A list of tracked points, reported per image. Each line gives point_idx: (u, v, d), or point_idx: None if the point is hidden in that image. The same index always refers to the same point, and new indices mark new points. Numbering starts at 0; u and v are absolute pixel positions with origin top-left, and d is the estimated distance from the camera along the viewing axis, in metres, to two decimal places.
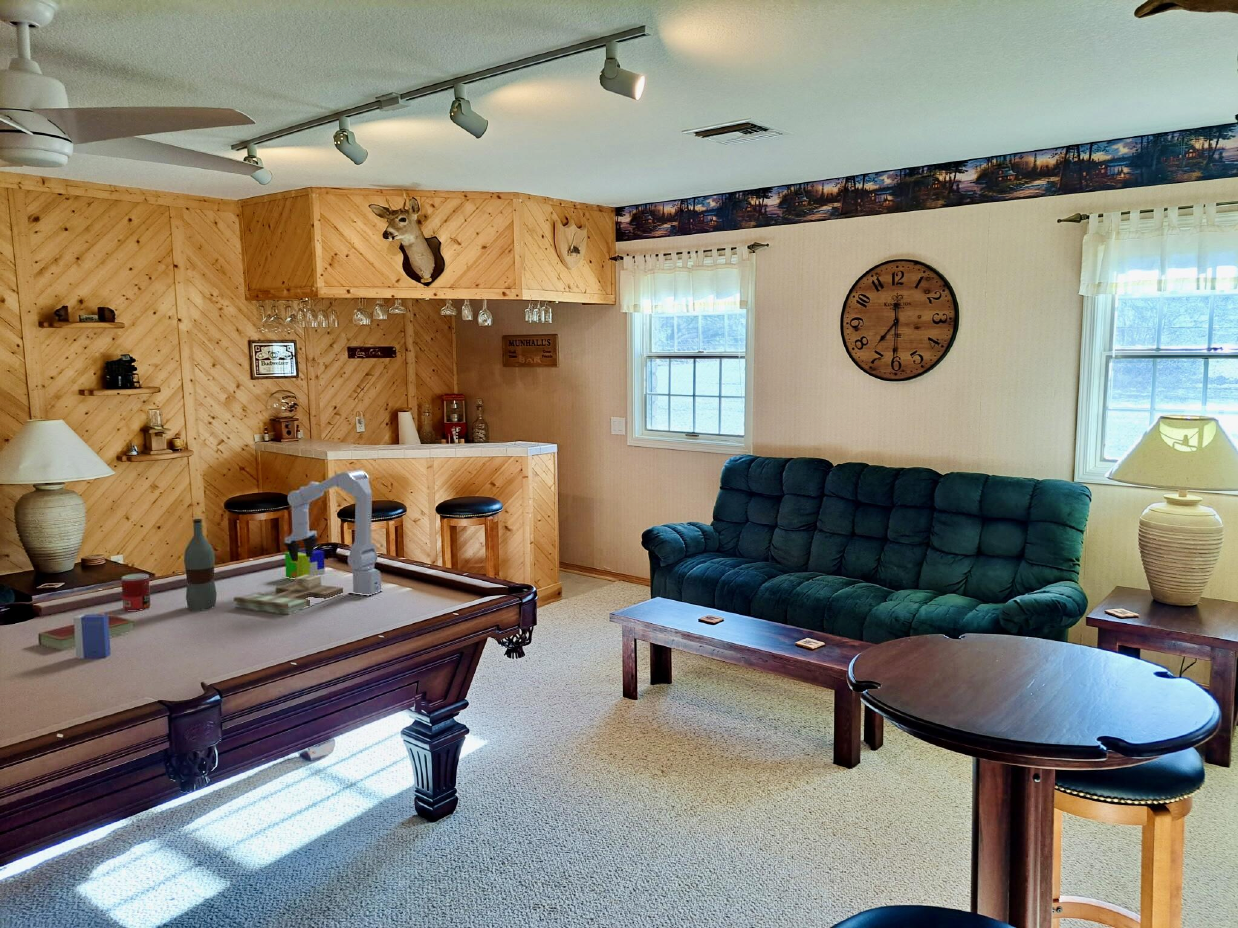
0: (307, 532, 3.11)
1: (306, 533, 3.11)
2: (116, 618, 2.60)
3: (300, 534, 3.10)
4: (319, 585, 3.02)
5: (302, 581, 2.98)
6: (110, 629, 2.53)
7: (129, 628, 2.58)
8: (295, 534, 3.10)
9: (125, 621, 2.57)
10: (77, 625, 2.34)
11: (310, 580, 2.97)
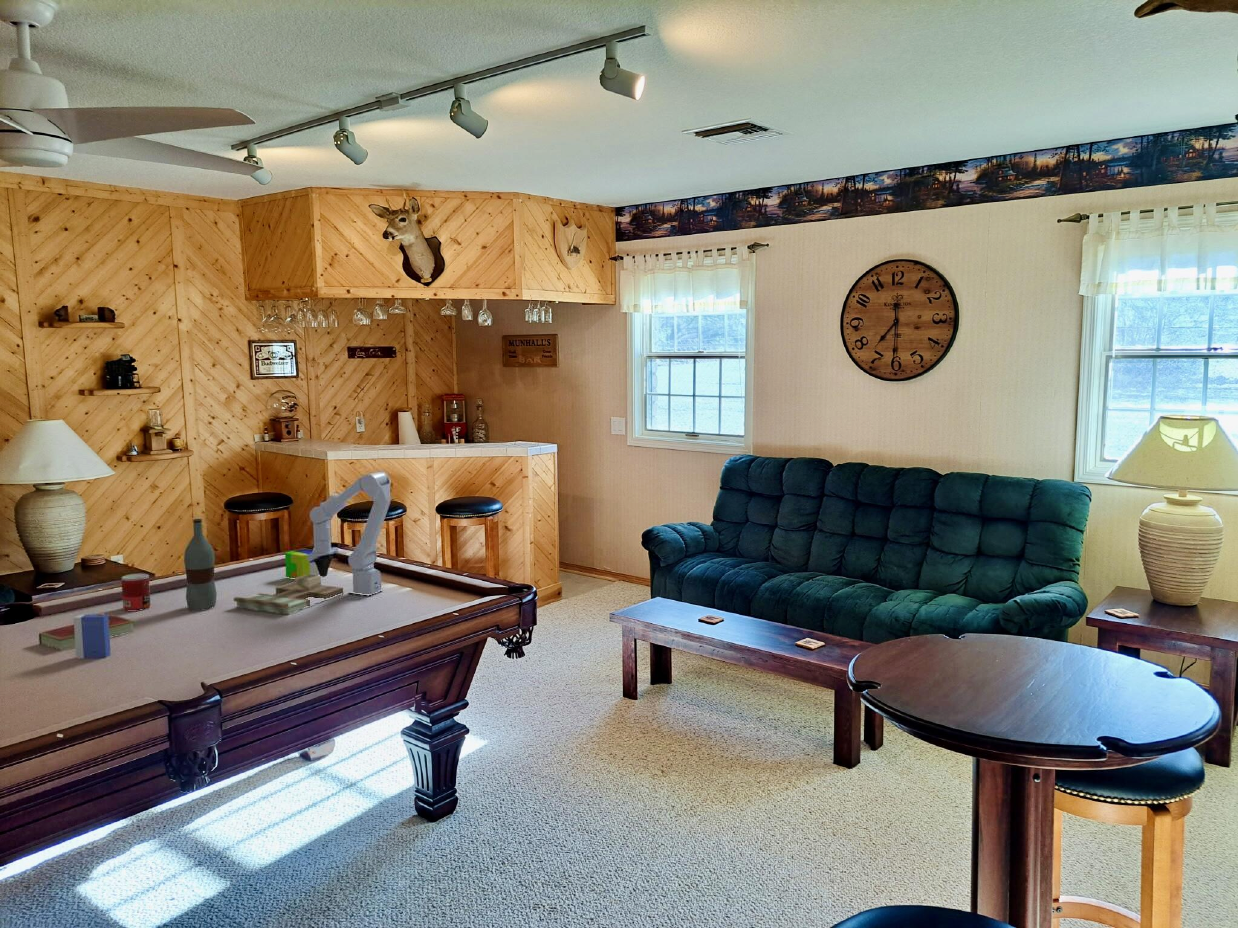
0: (329, 549, 3.06)
1: (328, 550, 3.06)
2: (117, 618, 2.60)
3: (322, 551, 3.04)
4: (319, 585, 3.02)
5: (302, 581, 2.98)
6: (110, 629, 2.52)
7: (129, 628, 2.57)
8: (317, 551, 3.04)
9: (125, 621, 2.57)
10: (77, 625, 2.34)
11: (310, 580, 2.97)
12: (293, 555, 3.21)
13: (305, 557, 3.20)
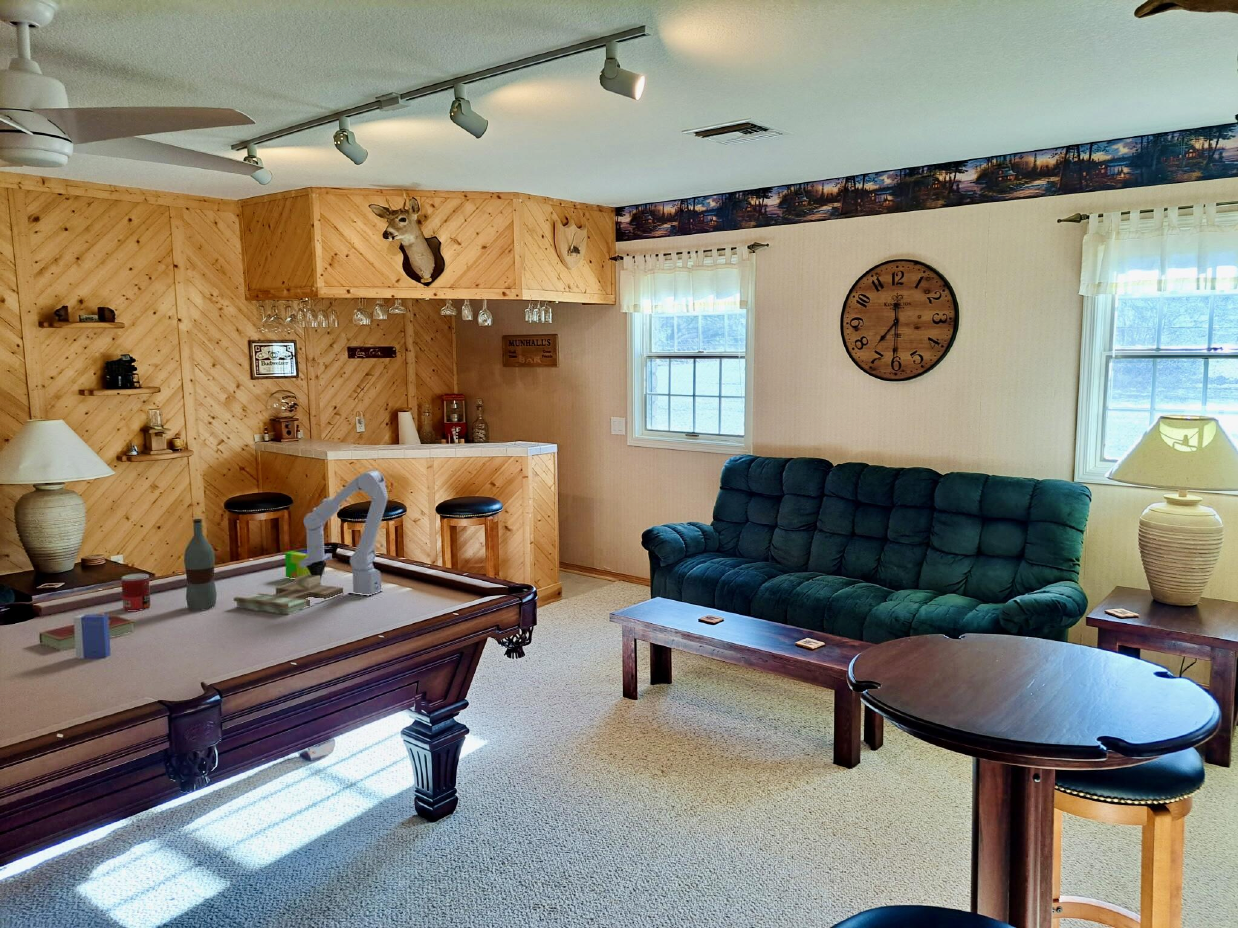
0: (322, 555, 3.03)
1: (321, 556, 3.03)
2: (118, 618, 2.60)
3: (315, 557, 3.01)
4: (319, 585, 3.02)
5: (302, 581, 2.98)
6: (110, 629, 2.52)
7: (130, 629, 2.57)
8: (310, 557, 3.01)
9: (126, 622, 2.57)
10: (77, 625, 2.34)
11: (310, 580, 2.97)
12: (293, 555, 3.21)
13: (305, 557, 3.20)
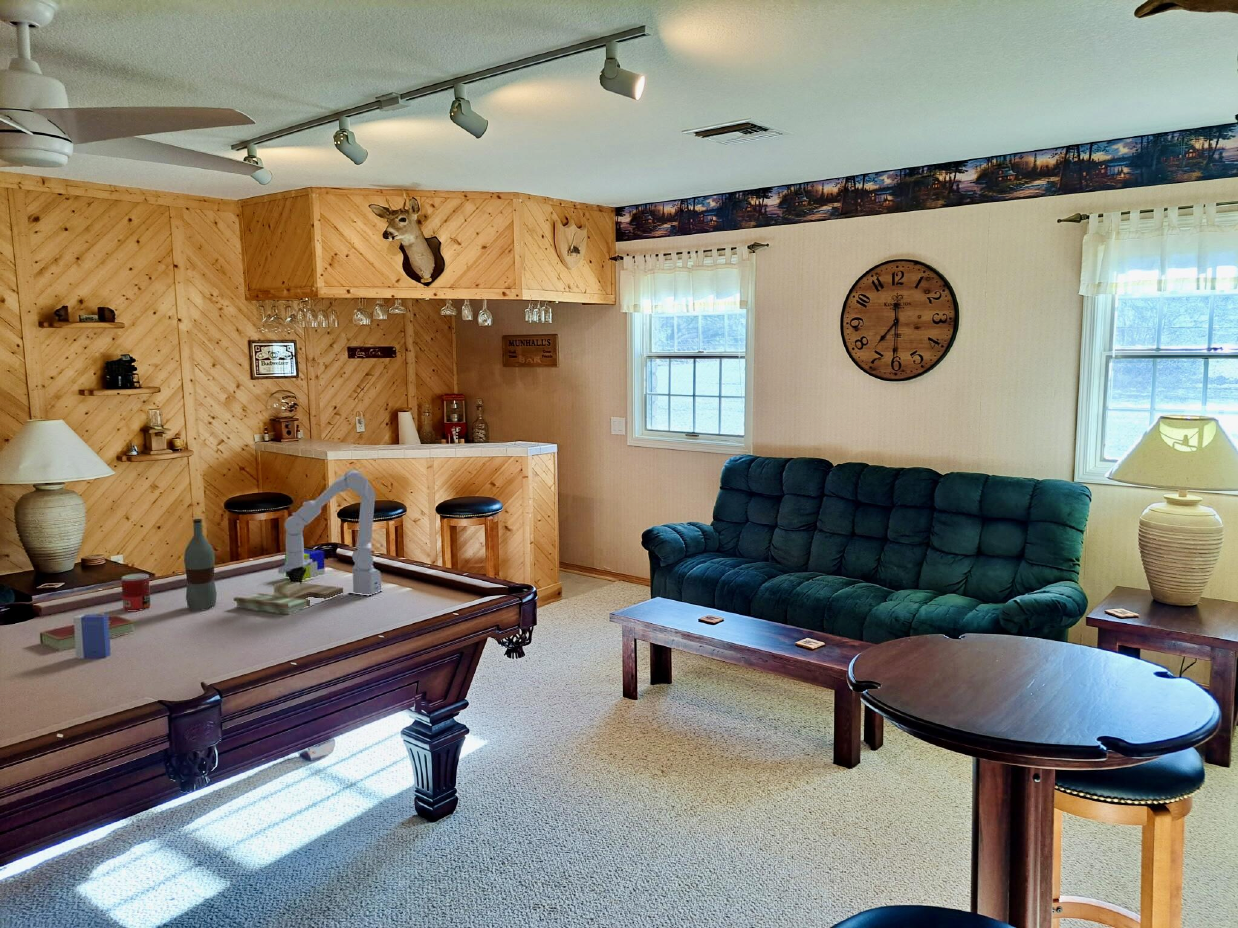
0: (302, 561, 2.94)
1: (301, 562, 2.93)
2: (119, 619, 2.60)
3: (294, 564, 2.92)
4: (299, 592, 2.92)
5: (281, 588, 2.88)
6: (110, 630, 2.52)
7: (130, 629, 2.57)
8: (289, 563, 2.92)
9: (126, 622, 2.56)
10: (77, 625, 2.34)
11: (289, 587, 2.88)
12: None
13: (305, 557, 3.20)
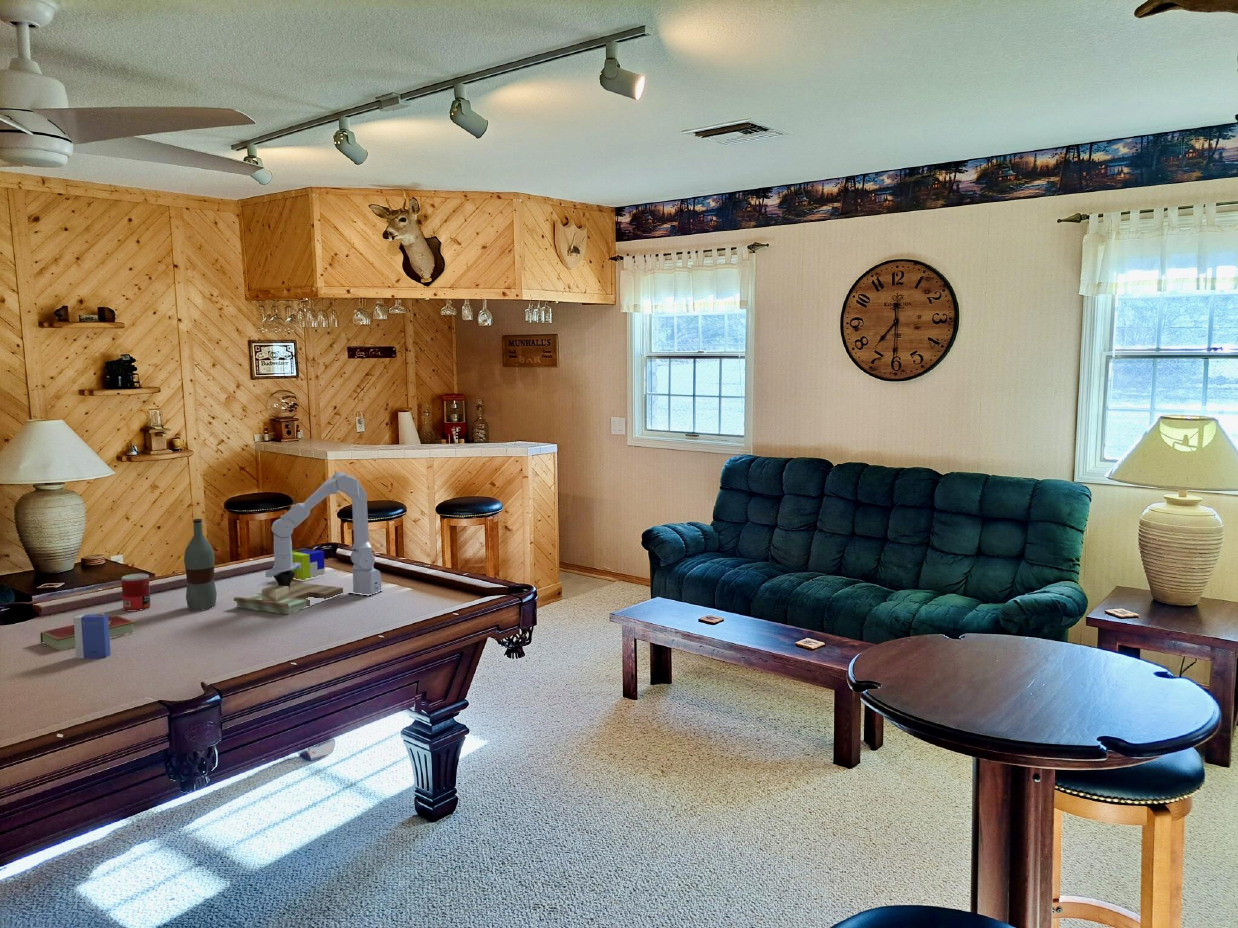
0: (290, 565, 2.88)
1: (289, 566, 2.88)
2: (119, 619, 2.60)
3: (282, 567, 2.86)
4: (287, 596, 2.87)
5: (268, 593, 2.83)
6: (110, 630, 2.52)
7: (130, 629, 2.56)
8: (277, 567, 2.87)
9: (126, 622, 2.56)
10: (77, 625, 2.34)
11: (277, 591, 2.83)
12: (293, 555, 3.21)
13: (305, 557, 3.20)
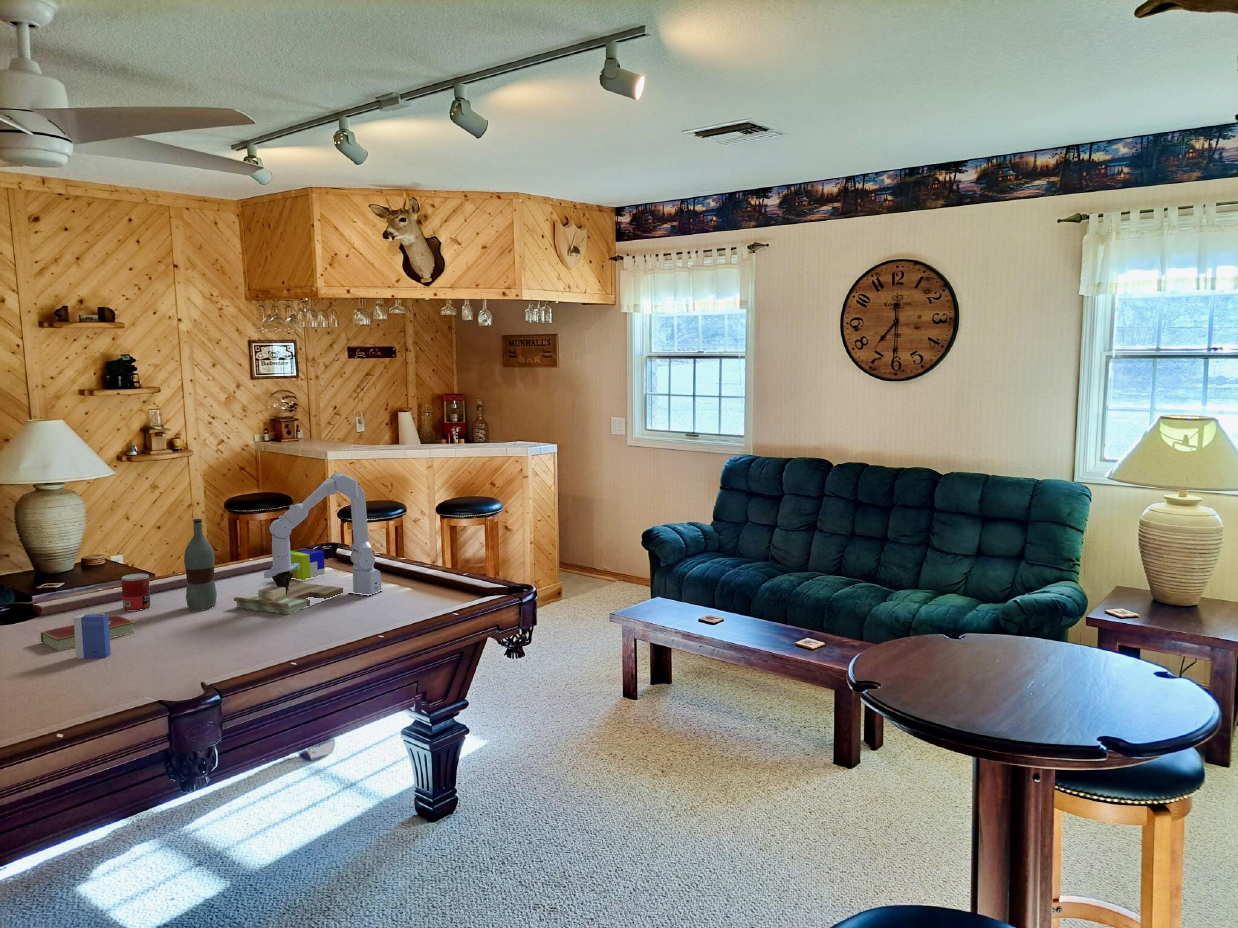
0: (289, 565, 2.88)
1: (287, 567, 2.87)
2: (120, 619, 2.59)
3: (281, 568, 2.86)
4: (284, 597, 2.86)
5: (265, 594, 2.82)
6: (110, 630, 2.52)
7: (130, 629, 2.56)
8: (275, 568, 2.86)
9: (126, 622, 2.56)
10: (77, 625, 2.34)
11: (274, 592, 2.81)
12: (293, 555, 3.21)
13: (305, 557, 3.20)
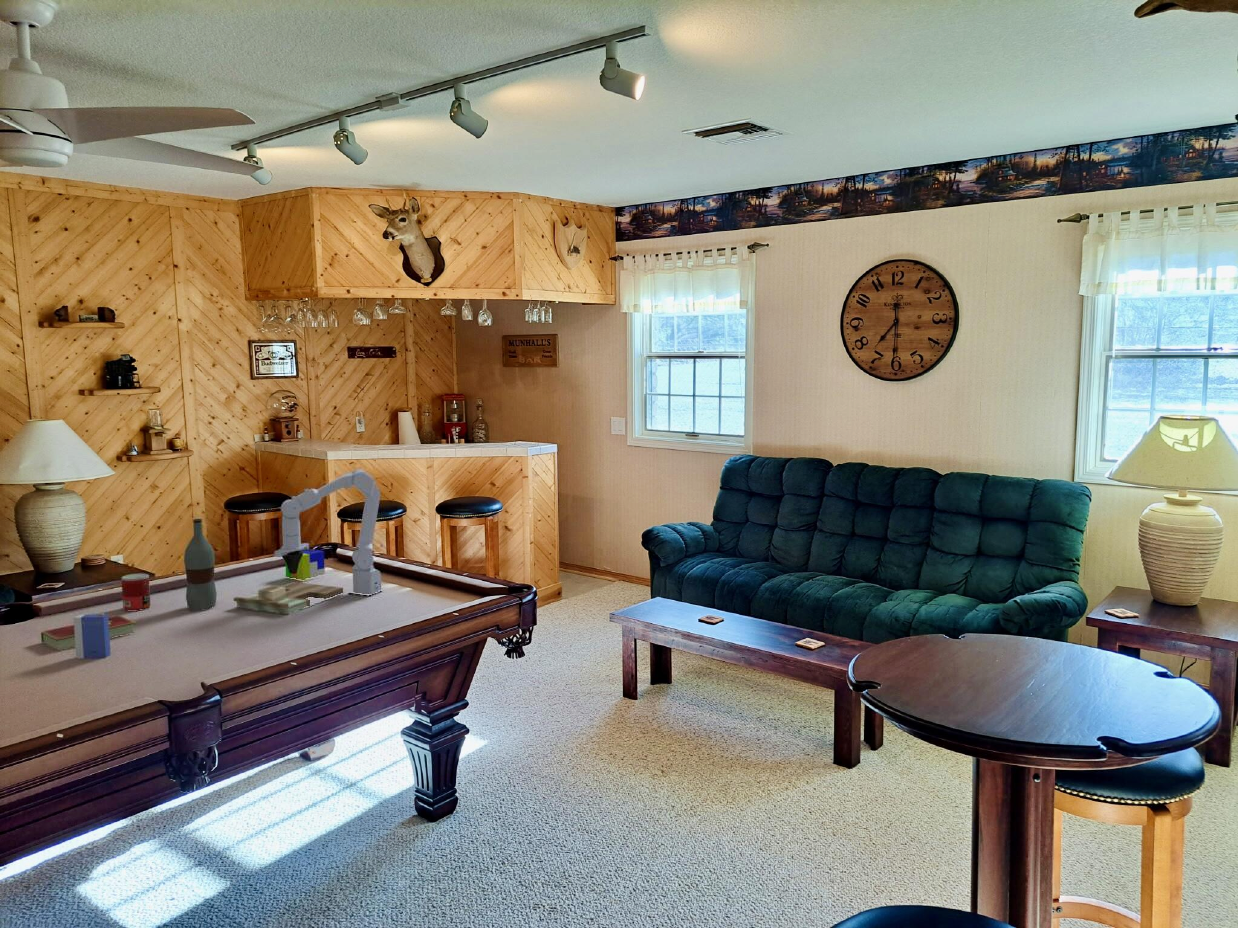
0: (298, 545, 2.92)
1: (297, 546, 2.92)
2: (120, 619, 2.59)
3: (291, 547, 2.90)
4: (284, 597, 2.86)
5: (265, 594, 2.82)
6: (110, 630, 2.51)
7: (130, 630, 2.56)
8: (286, 547, 2.90)
9: (127, 623, 2.56)
10: (77, 625, 2.34)
11: (274, 592, 2.81)
12: None
13: (305, 557, 3.20)
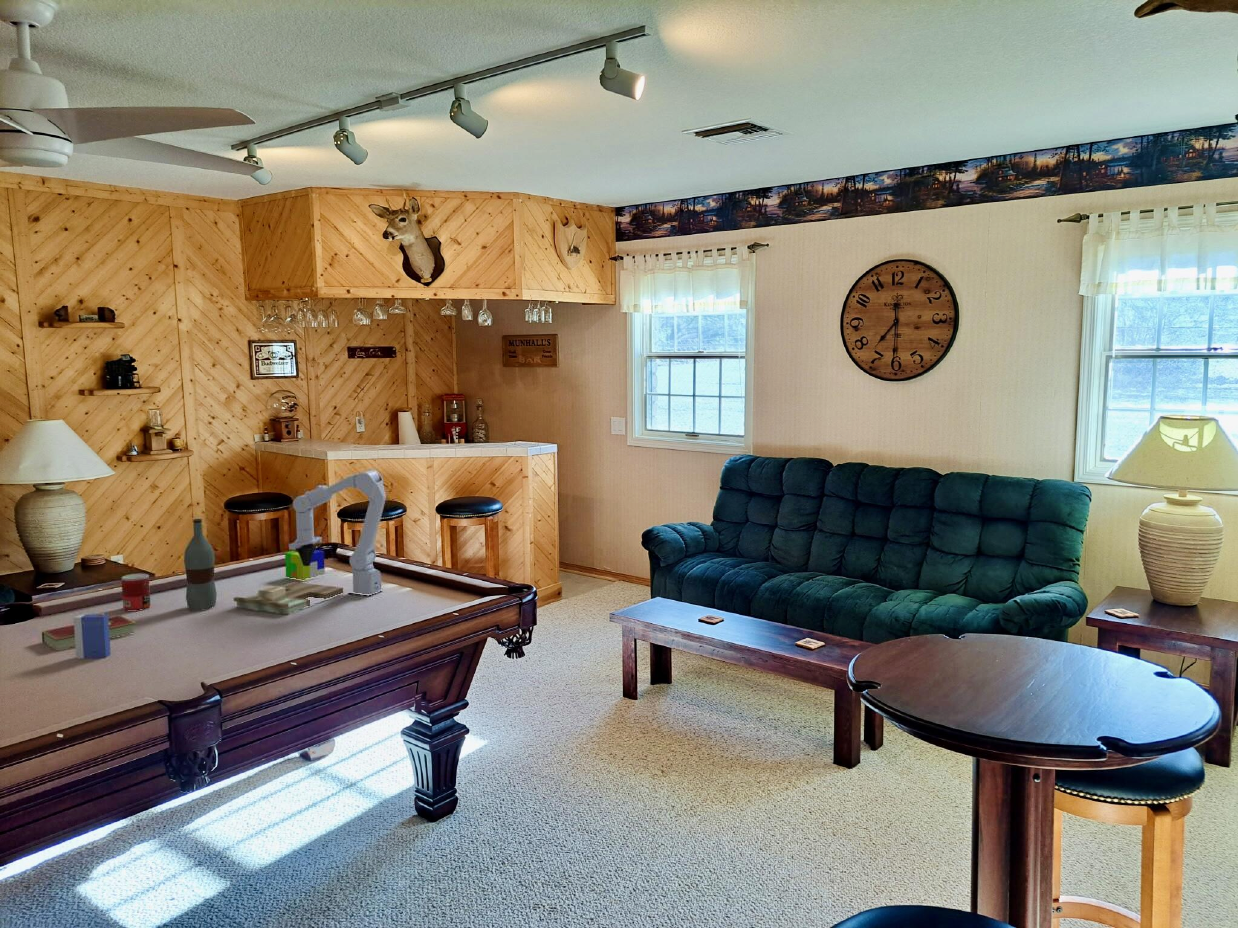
0: (312, 538, 3.03)
1: (311, 539, 3.03)
2: (121, 619, 2.59)
3: (305, 540, 3.02)
4: (284, 597, 2.86)
5: (265, 594, 2.82)
6: (110, 631, 2.51)
7: (131, 630, 2.56)
8: (300, 540, 3.02)
9: (127, 623, 2.55)
10: (77, 625, 2.34)
11: (274, 592, 2.81)
12: (293, 555, 3.21)
13: None
